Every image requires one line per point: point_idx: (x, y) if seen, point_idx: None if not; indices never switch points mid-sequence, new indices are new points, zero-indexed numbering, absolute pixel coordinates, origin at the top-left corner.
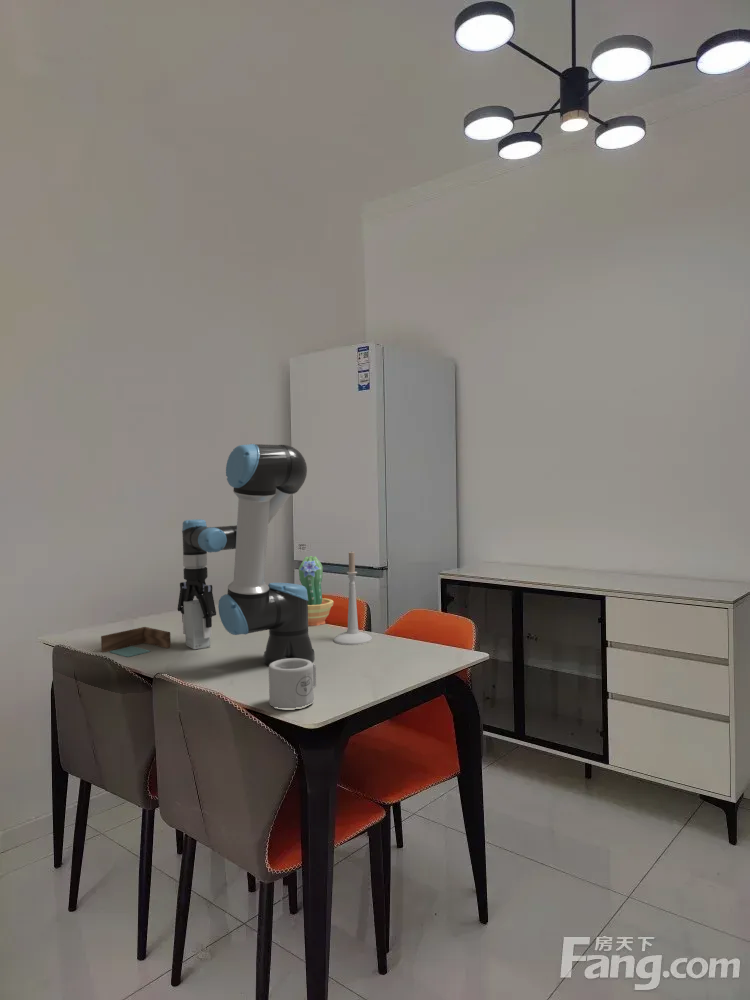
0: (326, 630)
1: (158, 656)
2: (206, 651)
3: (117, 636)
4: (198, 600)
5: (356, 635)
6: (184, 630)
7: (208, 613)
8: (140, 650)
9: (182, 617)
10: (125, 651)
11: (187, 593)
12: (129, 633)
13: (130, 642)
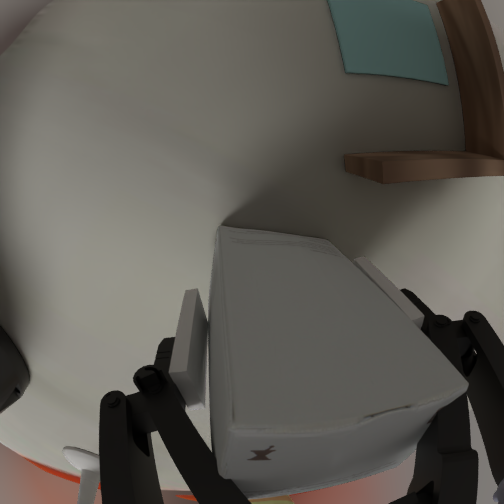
0: None
1: (235, 53)
2: (157, 254)
3: (481, 41)
4: (359, 473)
5: (75, 466)
6: (363, 266)
7: (116, 409)
8: (376, 53)
9: (424, 305)
10: (398, 21)
11: (452, 489)
12: (493, 91)
13: (468, 94)
